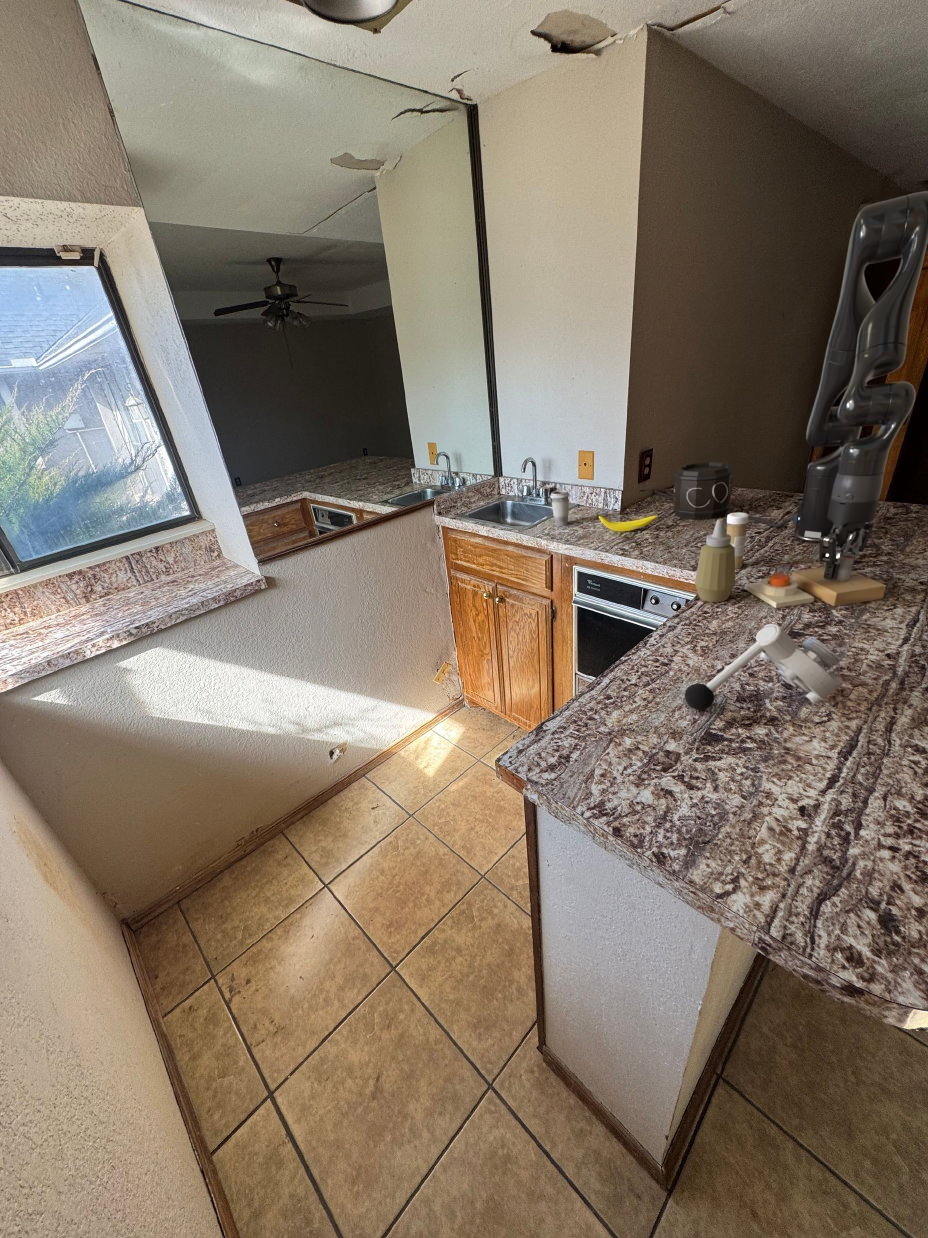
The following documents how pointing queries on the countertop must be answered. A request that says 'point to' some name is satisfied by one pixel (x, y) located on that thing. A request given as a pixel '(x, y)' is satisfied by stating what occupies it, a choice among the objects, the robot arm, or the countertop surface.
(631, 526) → the banana
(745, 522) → the sprinkles bottle
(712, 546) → the squeeze bottle
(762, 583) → the button block
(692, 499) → the octagonal grey canister
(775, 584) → the button
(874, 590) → the panel
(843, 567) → the knob
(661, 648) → the countertop surface
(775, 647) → the valve
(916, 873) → the countertop surface
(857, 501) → the robot arm
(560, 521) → the cup
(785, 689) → the countertop surface
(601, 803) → the countertop surface
